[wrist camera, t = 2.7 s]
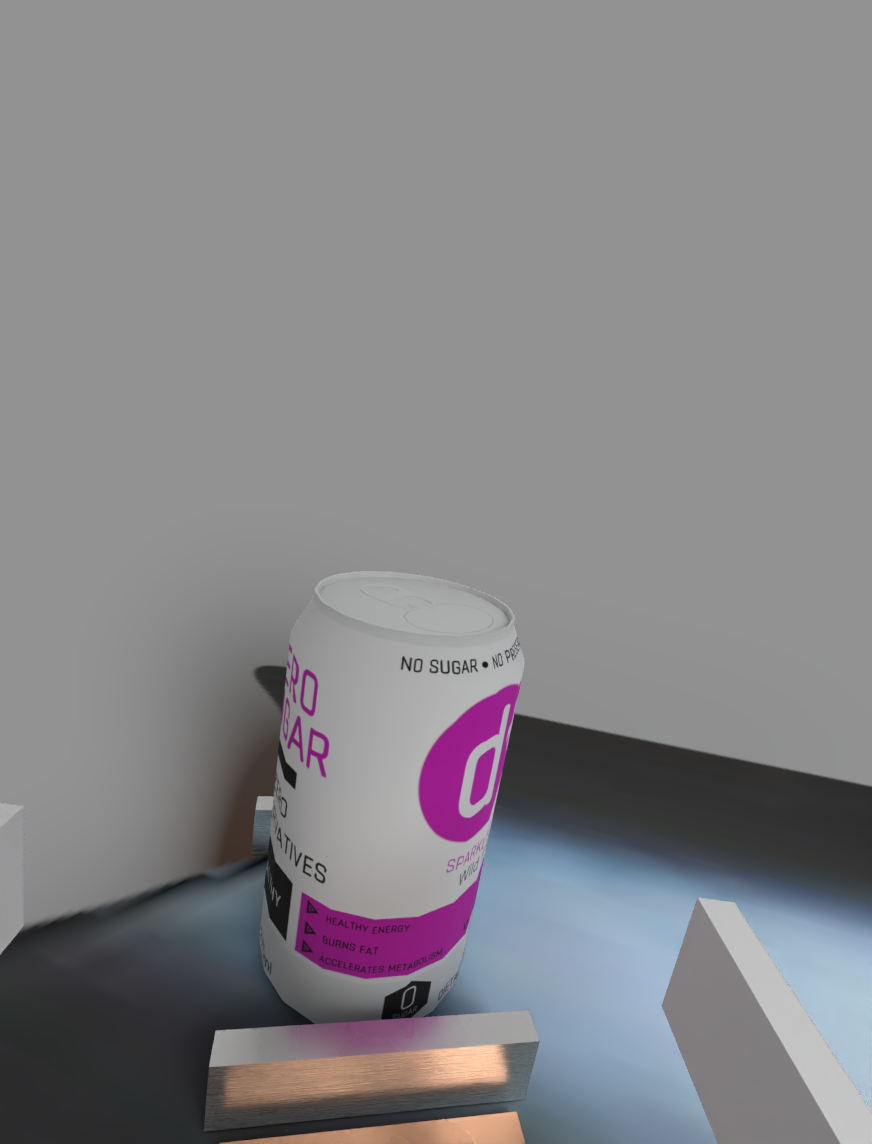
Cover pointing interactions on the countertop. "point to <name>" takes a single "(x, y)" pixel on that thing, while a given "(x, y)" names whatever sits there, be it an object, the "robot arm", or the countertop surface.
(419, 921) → the sparkling water can
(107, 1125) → the countertop surface
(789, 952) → the countertop surface
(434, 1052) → the rack with upright dividers
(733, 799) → the countertop surface
